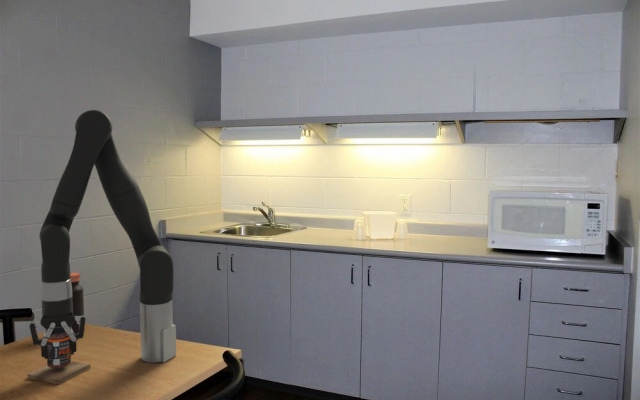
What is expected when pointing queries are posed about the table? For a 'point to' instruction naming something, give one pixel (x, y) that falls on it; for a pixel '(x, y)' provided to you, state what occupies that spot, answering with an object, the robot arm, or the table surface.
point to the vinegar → (76, 300)
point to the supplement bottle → (58, 348)
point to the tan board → (58, 372)
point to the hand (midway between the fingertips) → (59, 355)
